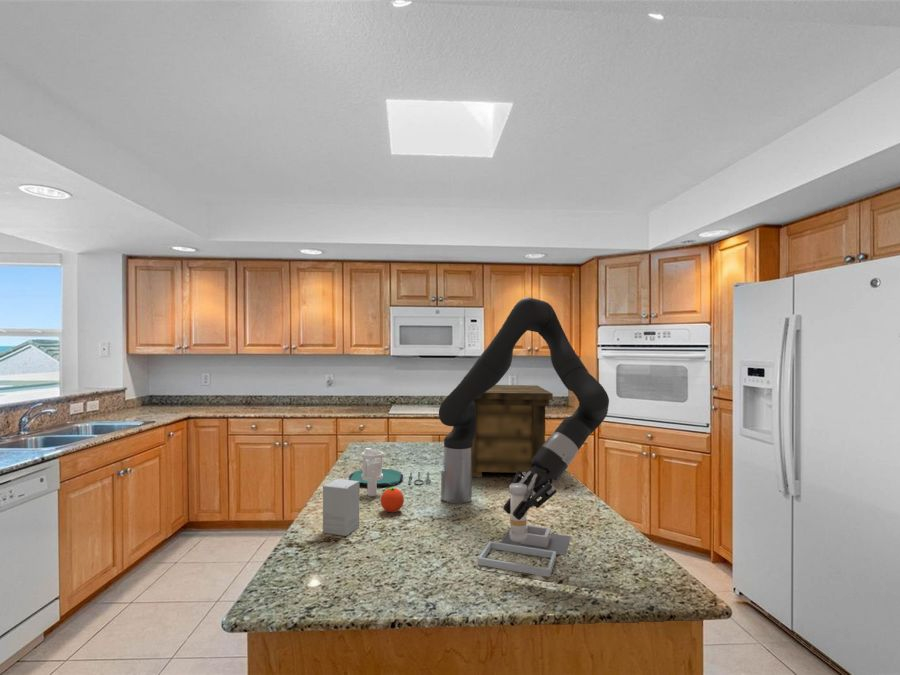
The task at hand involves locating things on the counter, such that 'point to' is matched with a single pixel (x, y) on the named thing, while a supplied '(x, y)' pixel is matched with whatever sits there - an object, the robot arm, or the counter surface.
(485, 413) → the crate
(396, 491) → the clementine
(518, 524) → the white bottle
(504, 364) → the robot arm
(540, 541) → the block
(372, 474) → the drinking glass
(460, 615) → the counter surface
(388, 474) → the cutlery set
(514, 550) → the tray
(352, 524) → the supplement box
